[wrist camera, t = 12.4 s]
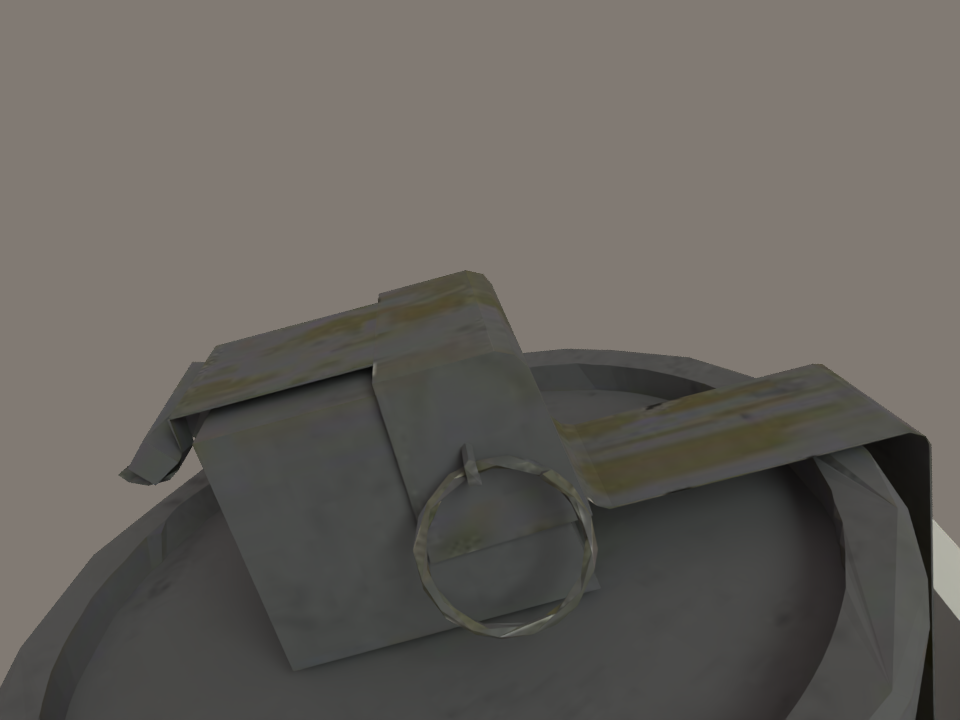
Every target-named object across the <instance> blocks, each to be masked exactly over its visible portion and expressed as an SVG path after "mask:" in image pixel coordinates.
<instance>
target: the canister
mask: <svg viewBox="0 0 960 720" xmlns="http://www.w3.org/2000/svg"><path fill="white" fill-rule="evenodd" d="M192 437H195V440H194V441H193V438H192ZM192 446H193V447H194V449H195V451H196V454H197V456H198V458H199V460H200V463H201V465H202V467H203V470H201V471H200V472H199V473H197V474H196V475H195V476H194V477H192V478H191V479H190V480H188V481H187V482H186V483H184V484H183V485H182V486H181V487H179V488H178V489H177V490H175V491H174V492H173V493H172V494H170V495H169V496H168V497H166V498H165V499H164V500H162V501H161V502H160V503H159V504H157V505H156V506H155V507H153V508H152V509H151V510H150V511H148V512H147V513H146V514H145V515H143V516H142V517H141V518H140V519H138V520H137V521H136V522H135V523H133V524H132V525H131V526H130V527H128V528H127V529H126V530H125V531H123V532H122V533H121V534H120V535H118V536H117V537H116V538H115V539H113V540H112V541H111V542H110V543H108V544H107V545H106V546H104V547H103V548H102V549H101V550H99V551H98V552H97V553H96V554H94V555H93V557H92V558H91V559H90V560H89V562H88V563H87V564H86V565H85V567H84V568H83V569H82V571H81V572H80V573H79V574H78V576H77V577H76V578H75V579H74V581H73V582H72V583H71V584H70V586H69V587H68V588H67V590H66V591H65V592H64V593H63V595H62V596H61V597H60V599H59V600H58V601H57V602H56V604H55V605H54V606H53V607H52V609H51V610H50V611H49V612H48V614H47V615H46V616H45V618H44V619H43V620H42V621H41V623H40V624H39V625H38V626H37V628H36V629H35V630H34V631H33V633H32V634H31V635H30V637H29V638H28V639H27V640H26V642H25V643H24V644H23V645H22V647H21V648H20V650H19V652H18V654H17V656H16V658H15V660H14V662H13V664H12V665H11V668H10V670H9V671H8V674H7V675H6V678H5V680H4V681H3V683H2V685H1V687H0V720H935V657H934V589H933V521H932V458H931V457H932V456H931V444H930V442H929V441H928V439H927V438H926V436H924V435H923V434H921V433H920V432H919V431H917V430H916V429H914V428H913V427H911V426H910V425H909V424H907V423H906V422H904V421H903V420H901V419H900V418H898V417H897V416H895V415H894V414H893V413H891V412H890V411H888V410H887V409H885V408H884V407H883V406H881V405H880V404H878V403H877V402H876V401H874V400H873V399H871V398H870V397H868V396H867V395H866V394H864V393H863V392H861V391H860V390H858V389H857V388H856V387H854V386H853V385H851V384H849V383H848V382H847V381H845V380H844V379H843V378H841V377H840V376H838V375H837V374H835V373H834V372H833V371H831V370H830V369H828V368H827V367H825V366H824V365H822V364H811V365H807V366H803V367H799V368H795V369H791V370H787V371H783V372H779V373H775V374H771V375H767V376H764V377H760V378H754V377H751V376H748V375H744V374H741V373H738V372H735V371H731V370H728V369H725V368H721V367H718V366H715V365H712V364H709V363H705V362H702V361H699V360H695V359H692V358H688V357H678V356H667V355H657V354H646V353H636V352H625V351H614V350H586V349H585V350H584V349H561V350H550V351H540V352H531V353H522V351H521V348H520V346H519V344H518V342H517V340H516V337H515V335H514V333H513V331H512V328H511V326H510V324H509V322H508V320H507V317H506V315H505V313H504V311H503V309H502V306H501V304H500V302H499V300H498V298H497V295H496V293H495V291H494V289H493V286H492V284H491V283H490V282H489V281H488V280H487V278H486V277H485V276H484V275H483V274H480V273H475V272H471V271H466V270H465V271H462V272H458V273H454V274H450V275H447V276H443V277H439V278H435V279H432V280H428V281H425V282H421V283H417V284H414V285H410V286H406V287H402V288H399V289H395V290H391V291H388V292H384V293H380V294H379V298H378V303H375V304H372V305H368V306H364V307H360V308H357V309H353V310H349V311H345V312H342V313H338V314H334V315H331V316H327V317H323V318H319V319H315V320H312V321H308V322H304V323H301V324H297V325H293V326H289V327H285V328H282V329H278V330H274V331H270V332H267V333H263V334H259V335H255V336H252V337H248V338H244V339H241V340H237V341H233V342H229V343H226V344H222V345H218V346H216V347H215V348H214V350H213V351H212V353H211V354H210V356H209V357H208V359H207V360H206V362H192V364H191V365H190V367H189V368H188V370H187V372H186V373H185V375H184V376H183V378H182V380H181V381H180V383H179V384H178V386H177V388H176V389H175V391H174V393H173V394H172V395H171V397H170V399H169V400H168V402H167V403H166V405H165V407H164V408H163V410H162V411H161V413H160V415H159V416H158V418H157V419H156V421H155V423H154V424H153V426H152V427H151V429H150V431H149V432H148V434H147V435H146V437H145V438H144V440H143V442H142V444H141V445H140V447H139V449H138V451H137V453H136V455H135V457H134V459H133V460H132V462H131V464H130V465H129V466H128V467H127V468H126V469H124V470H123V471H122V472H121V473H120V474H119V476H121V477H122V478H124V479H125V480H127V481H128V482H131V483H136V484H142V485H148V486H149V485H153V484H154V485H156V484H158V483H160V482H164V481H168V480H170V479H171V478H172V477H173V475H174V474H175V473H176V472H177V471H178V470H179V468H180V466H181V465H182V463H183V461H184V460H185V458H186V456H187V454H188V453H189V451H190V449H191V448H192Z"/></svg>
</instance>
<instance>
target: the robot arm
mask: <svg viewBox="0 0 960 720" xmlns="http://www.w3.org/2000/svg"><path fill="white" fill-rule="evenodd" d="M932 521H933V589H934V657H935V720H960V548H959V547H958V546H957V545H956V544H955V543H954V542H953V541H952V540H951V538H950V537H949V536H948V535H947V534H946V533H945V532H944V531H943V530H942V529H941V527H940V526H939V525H938V524H937V523H936V522H935V521H934V520H933V519H932Z"/></svg>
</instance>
